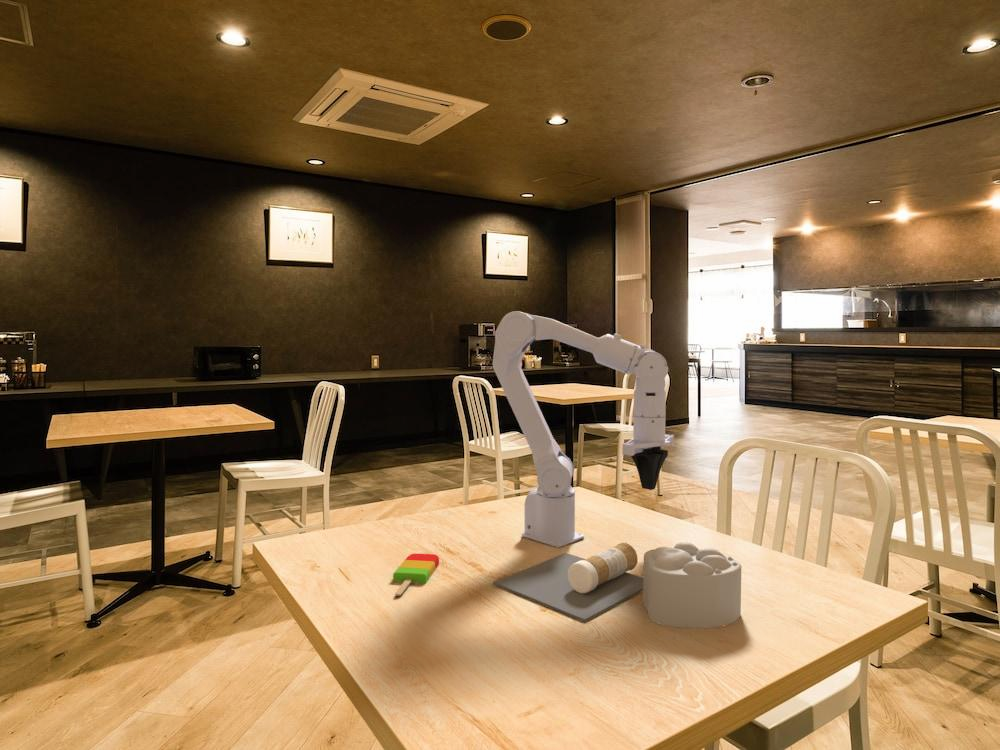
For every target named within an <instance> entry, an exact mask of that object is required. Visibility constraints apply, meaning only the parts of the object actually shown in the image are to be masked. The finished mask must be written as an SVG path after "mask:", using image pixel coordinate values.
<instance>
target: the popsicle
mask: <svg viewBox="0 0 1000 750" xmlns="http://www.w3.org/2000/svg"><path fill="white" fill-rule="evenodd" d="M439 565H440V558H439V556H438V555H437V554H434V553H433V554H432V553H411V554H409V555H408V556H407V557H405V559H404V560H403V562H402V563H401V564H400V565H399V566H398V567H397V569H396V570H394V572H393V575H392V581H393V582H395V583H402V584H401V585H400V586H399V588H397V590H396V591H395V592H394V596H399V597H400V596H402V595H403V594H404V592H405V591H406V589H407V588H408V587H409V586H410V584H411V583H412V584H423V585H424V584H427V583H428V581H429V580H430V579H431V577H432V575H433V574H434V573H435V571H436V569H437V568H438V567H439Z"/></svg>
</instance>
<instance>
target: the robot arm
mask: <svg viewBox="0 0 1000 750" xmlns="http://www.w3.org/2000/svg"><path fill="white" fill-rule="evenodd" d="M494 337H495V339H494V350H493V356H492V368H493V371H494V373H495V375H496V377H497V379H498V381H499V383H500V385H501V388H502V391H503V392H504V395H505V396H506V399H507V402H508V404H509V406H510V407H511V409H512V412H513V414H514V416H515V418H516V421H517V423H518V424H519V425H518V426H519V427H520V429H521V431H522V433H523V435H524V438H525V440H526V442H527V444H528V447H529V449H530V450H531V456H532V461H533V464H534V466H535V469H536V473H537V474H536V475H537V476H536V481H537V488H532V489H531V490H530V491H529V492H528V493H527V494H526V497H525V500H524V532H522V533H521V536H522V537H525V538H527V539H530V540H533V541H537V542H539V543H543V544H547V545H549V546H552V547H556V548H561V547H563V546H566V545H568V544H572V543H574V542H577V541H580V540H582V539H585V535H584V534H582V533H578V532H576V528H575V526H576V525H575V524H576V521H575V520H576V519H575V518H576V517H575V516H576V515H575V514H576V500H575V499H576V497H575V496H576V490H575V488H573V487H572V485H571V484H572V478H573V475H574V472H575V471H574V470H575V468H574V467H575V466H574V464H573V461H571V458H570V457H568V456H567V455H566V454H564V452H563V451H562V449H561V447H560V445H559V444H558V443H557V441H556V439H555V438H554V436H553V434H552V432H551V429H550V427H549V425H548V423H547V421H546V419H545V417H544V415H543V412H542V410H541V408H540V405H539V404H538V401H537V399H536V397H535V396H534V393H533V390H532V389H531V386H530V384H529V382H528V379H527V378H526V376H525V374H524V373H525V372H524V371H523V369H522V366H521V363H522V361H523V359H524V356H525V354H526V352H527V351H526V350H527V349H528V348H529V347H530V346H531V344H532V343H534V341H542V340H544V341H545V340H554V341H558V342H559V343H560V342H561V343H563V344H566V345H568V346H571V347H574V348H577V349H579V350H583V351H585V352H589V353H591V354H592V355H593V358H594V360H595V362H596V363H597V364H599V365H602V366H605V367H608V368H609V369H610V368H611V369H613V370H615V371H618V372H620V373H623V374H626V375H631V374H634V375H635V386H634V387H635V388H634V390H633V430H632V431H633V433H632V434H633V436H632V438H631V439H630V440H629V441H627V442H624V443H622V444H621V446H622V447H621V449H622V452H621V454H622V455H623V456H624V455H625V456H630V457H631V459H632V460H633V463H634V465H635V467H636V471H637V472H638V477H639V480H640V481H639V482H640V485H641V488H642V489H646V490H650V491H653V490H655V489H656V488H657V484H658V480H659V476H660V472H661V469H662V467H663V465H664V462H665V461H666V459H667V458H668V456H669V450H667V449H662V448H663V447H668V446H669V447H671V446H672V447H673V446H675V435H674V434H666V410H667V409H666V404H667V403H666V402H667V401H666V400H667V392H666V390H665V389H666V381H665V379H666V376H667V375H668V373H669V366H668V362H667V360H666V358H665V357H664V356H663V355H662V354H661V353H659V352H656V351H655V350H653V349H646V347H647V345H645V344H642V343H640V344H636V343H633V342H631V341H628V340H625V339H623V338H622V335H621V334H618V333H613V335H612V334H610V333H606V334H604V335H602V336H600V337H597V336H594V335H593V334H589V333H587V332H585V331H583V330H580V329H579V328H575V327H573V326H570V325H568V324H565V323H563V322H560V321H558V320H556V319H554V318H549V317H544V316H539V315H533V314H530V313H527V312H522V311H519V310H515V311H514V310H513V311H511V312H508V313H507V314H505V315H504V316H503V317H502V319H501V320H500V321H499V324H498V325H497V328H496V330H495V332H494Z"/></svg>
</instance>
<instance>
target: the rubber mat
mask: <svg viewBox="0 0 1000 750" xmlns="http://www.w3.org/2000/svg"><path fill="white" fill-rule="evenodd" d="M586 559H587V558H583V557H580V556H577V555H574V554H572V553H568V552H565V553H561V554H559V555H556V556H554V557H552V558H549V559H547V560H545V561H541V562H539V563H537V564H535V565H532V566H529V567H527V568H525V569H522V570H519V571H516V572H515V573H512V574H510V575H509V574H508V575H506V576H504V577H502V578H499V579H496V580H494V581H492V585H494V586H497V587H499V588H501V589H503V590H504V591H508V592H510V593H513V594H515V595H518V596H520V597H523V598H525V599H527V600H530V601H532V602H534V603H537V604H540V605H542V606H544V607H547V608H549V609H552V610H554V611H557V612H559V613H561V614H562V615H563V614H564V615H566V616H569V617H570V618H573V619H576V620H579V621H581V622H582V623H586V622H588V621H590V620H592V619H593V618H596V617H597V616H599V615H601V614H604V613H605V612H607V611H609V610H610V609H612V608H613V607H616V606H617V605H620V604H621V603H623V602H625V601H626V600H629V599H630V598H632V597H634V596H636V595H638V594H640V593H643V576H639V575H636V574H633V573H630V572H628V571H626V572H625V573H623V574H622V575H620V576H618V577H616V578H614V579H612V580H609V581H607V582H605V583H603V584H601V585H599V586H597V587H596V588H595V589H594V590H592V591H590V592H588V593H579V592H577V591H575V590H574V589H573V588H572V586H571V585H570V583H569V580H568V570H569V568H570V566H571V565H572V564H574V563H576V562H578V561H581V560H586Z"/></svg>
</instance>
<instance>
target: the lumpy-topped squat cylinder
mask: <svg viewBox="0 0 1000 750" xmlns="http://www.w3.org/2000/svg"><path fill="white" fill-rule="evenodd" d="M642 570H643V573H642V574H643V575H642V577H643V591H642V593H643V594H642V602H643V603H642V604H644V606H645V607H646V610H647V616H648V618H649V619H650V620H651V621H653V622H655V623H657V624H660V625H663V626H666V627H667V626H668V627H674V628H686V627H687V628H688V629H691V628H692V629H712V628H713V629H716V627H717V628H721V627H724V626H723V625H725V626H728V625H731V624H733V623H732V622H734V623H736V622H737V621H738V620H739V619H740V618H741V616H740V615H741V614H742V613H741V612H742V611H741V608H742V564H741V563H740V562H739V561H738V560H736V559H734V558H733V557H731V556H727V555H724V554H723V553H722V552H721V551H719V550H717V549H715V548H712V547H704V548H700V549H699V548H698V547H697V546H696V545H694V544H692V542H688V541H681V542H678V543H676V544H675V546H674V547H669V546H660V547H656V548H655V549H650V550H648V551H646V552H644V554H643V569H642ZM739 617H740V618H739ZM738 618H739V619H738ZM737 619H738V620H737ZM736 620H737V621H736ZM730 623H731V624H730ZM727 624H728V625H727ZM720 626H721V627H720Z"/></svg>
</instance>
